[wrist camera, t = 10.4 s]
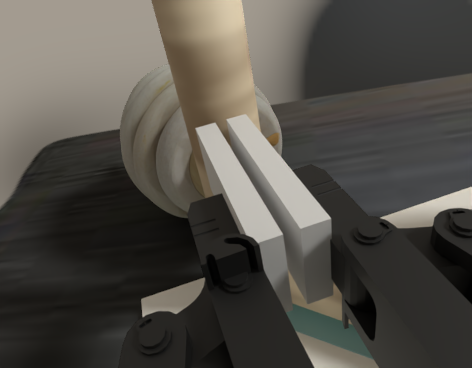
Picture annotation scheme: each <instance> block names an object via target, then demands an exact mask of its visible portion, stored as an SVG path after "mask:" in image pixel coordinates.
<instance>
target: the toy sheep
mask: <svg viewBox="0 0 472 368" xmlns="http://www.w3.org/2000/svg"><path fill="white" fill-rule="evenodd" d="M254 89H255V96H256V102H257V109H258V116H259V123H260V129H261V133H262V135H263V136H264V137H265V138H266V139H267V141H268V142H269V143H270V144H271V146H272V147H273V148H274V149H275V150H276V152H277V153H278V154H279V155H280V157H281V152H282V135H281V130H280V126H279V123H278V120H277V118H276V116H275V114H274V112H273V111H272V108H271V106H270V104H269V102H268V101H267V99H266V97H265V96H264V95H263V93H262V92H261V91H260V90H259V89H258V88H257V87H256V86H255V85H254ZM120 140H121V150H122V158H123V162H124V165H125V168H126V170H127V173H128V174H129V176H130V178H131V180H132V181H133V183H134V184H135V185H136V187H137V188H138V189H139V190H140V191H141V192H142V193H143V194H144V195H145V196H146V197H148V198H149V199H150V200H151V201H152V202H153V203H154V204H155V205H157V206H158V207H160V208H161V209H163V210H164V211H166V212H168V213H170V214H172V215H174V216H178V217H181V218H188V216H187V213H188V210H189V207H190V204H191V203H192V202H195V201H198V200H201V199H205V194H204V190H203V187H202V183H201V179H200V176H199V172H198V168H197V165H196V161H195V157H194V154H193V150H192V146H191V143H190V139H189V136H188V132H187V128H186V125H185V121H184V117H183V114H182V110H181V106H180V103H179V99H178V95H177V92H176V88H175V84H174V81H173V77H172V73H171V70H170V66H169V64H166V65H164V66H161V67H159V68H157V69H155V70H153V71H151V72H150V73H148V74H147V75H146V76H145V77H143V78H142V79H141V80H140V81H139V82H138V84H137V85H136V86H135V88H134V89H133V91H132V92H131V94H130V96H129V99H128V101H127V103H126V105H125V108H124V110H123V115H122V119H121V125H120Z"/></svg>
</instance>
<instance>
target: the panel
mask: <svg viewBox="0 0 472 368" xmlns="http://www.w3.org/2000/svg"><path fill="white" fill-rule="evenodd" d="M152 4H153V7H154V11H155V14H156V18H157V22H158V26H159V29H160V33H161V37H162V40H163V44H164V48H165V51H166V55H167V59H168V62H169V66H170V70H171V73H172V77H173V81H174V84H175V88H176V92H177V95H178V99H179V103H180V106H181V110H182V114H183V117H184V121H185V125H186V128H187V132H188V136H189V139H190V143H191V146H192V150H193V154H194V157H195V161H196V165H197V168H198V172H199V176H200V179H201V183H202V187H203V190H204V194H205V198H208V197H211V196H214V195H213V193H212V190H211V187H210V184H209V180H208V176H207V172H206V168H205V164H204V160H203V156H202V152H201V148H200V145H199V141H198V137H197V133H196V129H195V128H198V127H201V126H205V125H208V124H212V123H216V125H217V126H218V128H219V130H220V131H221V133H222V135H223V136H224V138H225V139H226V141H227V143H228V144H229V146H230V148H231V149H232V146H231V141H230V136H229V131H228V126H227V121H226V119H229V118H233V117H237V116H240V115H244V114H246V115H247V116H248V117H249V119H250V120H251V121H252V122H253V124H254V125H255V126H256V127H257V128H258V130H259V131H260V132H261V129H260V123H259V116H258V109H257V102H256V96H255V89H254V82H253V75H252V69H251V62H250V55H249V48H248V41H247V35H246V28H245V22H244V14H243V8H242V1H241V0H152ZM288 275H289V283H290V290H291V298H292V303H293V304H295V305H298V306H301V307H304V308H307V309H309V310H312V311H315V312H318V313H321V314H323V315H326V316H329V317H332V318H335V319H337V320H340V321H342V294H341V292H340V291H339V289H338V288H337V286H336V285H335V283H334V282H333V293H334V295H332V296H330V297H327V298H324V299H322V300H319V301H316V302H313V303H311V304H307V303H306V301H305V299H304V297H303V295H302V294H301V292H300V290H299V288H298V286H297V285H296V283H295V281H294V279H293V277H292V276H291V274H290V272H289V270H288ZM349 324H352V323H351V321H350V320H349Z"/></svg>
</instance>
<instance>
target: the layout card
mask: <svg viewBox="0 0 472 368" xmlns="http://www.w3.org/2000/svg"><path fill="white" fill-rule="evenodd" d="M451 208H465V209H471V210H472V187H469V188H467V189H464V190H461V191H458V192H455V193H452V194H449V195H446V196H443V197H440V198H437V199H434V200H431V201H428V202H425V203H422V204H419V205H416V206H414V207H411V208H408V209H405V210H402V211H399V212H396V213H393V214H390V215H387V216H384V217H381V218H382V219H385V220H387V221H389V222H390V223H392V224H393V225H394V226H396V227H397V228H417V227H430V226H433V222H434V217H435V216H436V215H437V214H438V213H439V212H441V211H444V210H447V209H451ZM204 282H205V277H204V278H201V279H198V280H196V281H193V282H190V283H187V284H184V285H181V286H178V287H175V288H172V289H169V290H166V291H163V292H160V293H157V294H154V295H151V296H148V297H145V298H143V299H141V304H142V315H143V317H144V316H146V315H148V314H151V313H154V312H157V311H170V312H172V313H174V314H177V313H178V312H180V311H181V310H183V309H184V308H186V307H187V306H189V305H190V304H191V303H192V302H193V301H194V300H195V299H196V298H197V297H198V296H199V294H200V293H201V291H202V289H203V287H204ZM292 306H293V310H291V311H289V312H286V314H287V316H288V318H289V319H290V321H291V323H292V325H293V327H294V329H295V331H296V333H297V335H298V337H299V339H300V341H301V343H302V345H303V346H304V348H305V350H306V352H307V354H308V356H309V358H310V360H311V362H312V364H313V366H314V368H379V367H378V365H377V364H376V362H375V361H374V359H373V357H372V356H371V354H370V352H369V351H368V349H367V347H366V346H365V344H364V343H363V341H362V339H361V338H360V336H359V334H358V333H357V331H356V330H355V328H354V326H353V325H352V324H349V328H347V329H344V326H343V323H342V321H340V320H337V319H335V318H332V317H329V316H326V315H323V314H321V313H318V312H315V311H312V310H309V309H307V308H304V307H301V306H298V305H295V304H293V303H292Z"/></svg>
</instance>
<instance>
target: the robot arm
mask: <svg viewBox="0 0 472 368" xmlns="http://www.w3.org/2000/svg"><path fill="white" fill-rule="evenodd" d="M226 121H227V126H228V131H229V136H230V141H231V146H232V149H231V148H230V146H229V144H228V143H227V141H226V139H225V138H224V136H223V135H222V133H221V131H220V130H219V128H218V126H217V125H216V123H212V124H208V125H205V126H201V127H198V128H195V129H196V133H197V137H198V141H199V145H200V148H201V152H202V156H203V160H204V164H205V168H206V172H207V176H208V180H209V184H210V187H211V190H212V193H213V195H214V196H211V197H208V198H205V199H201V200H198V201H195V202H192V203H191V204H190V207H189V210H188V213H187V216H188V220H189V223H190V227H191V230H192V233H193V237H194V240H195V244H196V247H197V250H198V254H199V257H200V262H201V268H202V271H203V274H204V277H205V282H204V287H203V289H202V291H201V293H200V294H199V296H198V297H197V298H196V299H195V300H194V301H193V302H192V303H191V304H190V305H189V306H187V307H186V308H184V309H183V310H181V311H180V312H178V313H177V314H174V313H172V312H170V311H157V312H154V313H151V314H148V315H146V316H144V317H143V318H141V319H140V320H138V321H137V322H135V324H134V325H133V326H132V327H131V329H130V330H129V331H128V332H127V334H126V337H125V340H124V342H123V345H122V350H121V355H120V360H119V366H118V368H314V366H313V364H312V362H311V360H310V358H309V356H308V354H307V352H306V350H305V348H304V346H303V345H302V343H301V341H300V339H299V337H298V335H297V333H296V331H295V329H294V327H293V325H292V323H291V321H290V319H289V318H288V316H287V314H286V312H289V311H291V310H293V306H292V298H291V290H290V283H289V275H288V270H289V272H290V274H291V276H292V277H293V279H294V281H295V283H296V285H297V286H298V288H299V290H300V292H301V294H302V295H303V297H304V299H305V301H306V303H307V304H311V303H313V302H316V301H319V300H322V299H324V298H327V297H330V296H332V295H334V293H333V282H334V283H335V285H336V286H337V288H338V289H339V291H340V292H341V294H342V323H343V326H344V329H347V328H349V320H350V321H351V323H352V325H353V326H354V328H355V330H356V331H357V333H358V334H359V336H360V338H361V339H362V341H363V343H364V344H365V346H366V347H367V349H368V351H369V352H370V354H371V356H372V357H373V359H374V361H375V362H376V364H377V365H378V367H379V368H472V210H471V209H465V208H451V209H447V210H444V211H441V212H439V213H438V214H437V215H436V216H435V217H434V222H433V226H430V227H417V228H397V227H396V226H394V225H393V224H392V223H390V222H389V221H387V220H385V219H382V218H379V217H373V216H368V215H367V214H366V213H365V212H364V211H363V210H362V209H361V208H360V207H359V206H358V204H357V203H356V202H355V201H354V200H353V199H352V198H351V197H350V196H349V195H348V194H347V193H346V192H345V191H344V190H343V189H341V187H340V186H339V185H338V184H337V183H336V182H335V181H334V180H333V179H332V178H331V176H330V175H329V174H328V173H327V172H326V171H325V170H323V169H320V168H318V167H316V166H314V165H307V166H304V167H301V168H298V169H294V170H291V169H290V168H289V166H288V165H287V164H286V163H285V161H284V160H283V159H282V158H281V157H280V155H279V154H278V153H277V152H276V150H275V149H274V148H273V147H272V146H271V144H270V143H269V142H268V141H267V139H266V138H265V137H264V136H263V135H262V133H261V132H260V131H259V130H258V128H257V127H256V126H255V125H254V124H253V122H252V121H251V120H250V119H249V117H248V116H247V115H246V114H244V115H240V116H237V117H233V118H229V119H226Z"/></svg>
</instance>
